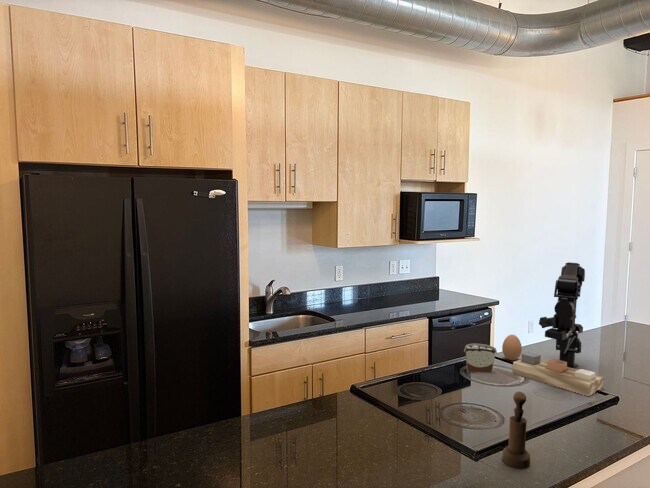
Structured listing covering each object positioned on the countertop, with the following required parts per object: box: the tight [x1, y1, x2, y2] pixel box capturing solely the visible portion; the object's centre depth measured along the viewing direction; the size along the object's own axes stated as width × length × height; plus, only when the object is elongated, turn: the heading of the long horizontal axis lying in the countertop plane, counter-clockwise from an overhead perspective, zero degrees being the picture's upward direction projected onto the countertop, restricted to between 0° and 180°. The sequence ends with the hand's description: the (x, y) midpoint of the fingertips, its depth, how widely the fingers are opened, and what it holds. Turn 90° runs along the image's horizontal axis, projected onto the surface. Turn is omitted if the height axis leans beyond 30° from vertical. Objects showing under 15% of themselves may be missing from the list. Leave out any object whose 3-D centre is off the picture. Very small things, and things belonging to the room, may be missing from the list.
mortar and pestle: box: [501, 391, 531, 469], centre depth 122 cm, size 7×6×18 cm
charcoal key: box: [521, 351, 542, 365], centre depth 188 cm, size 5×5×3 cm
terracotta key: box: [547, 358, 567, 372], centre depth 180 cm, size 5×5×3 cm
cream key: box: [574, 368, 597, 381], centre depth 173 cm, size 5×5×3 cm
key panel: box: [511, 358, 605, 396], centre depth 181 cm, size 12×28×4 cm, turn 39°
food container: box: [463, 343, 498, 375], centre depth 190 cm, size 12×6×10 cm, turn 84°
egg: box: [501, 334, 523, 362], centre depth 204 cm, size 8×8×11 cm
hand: (562, 353), depth 179 cm, fingers closed
